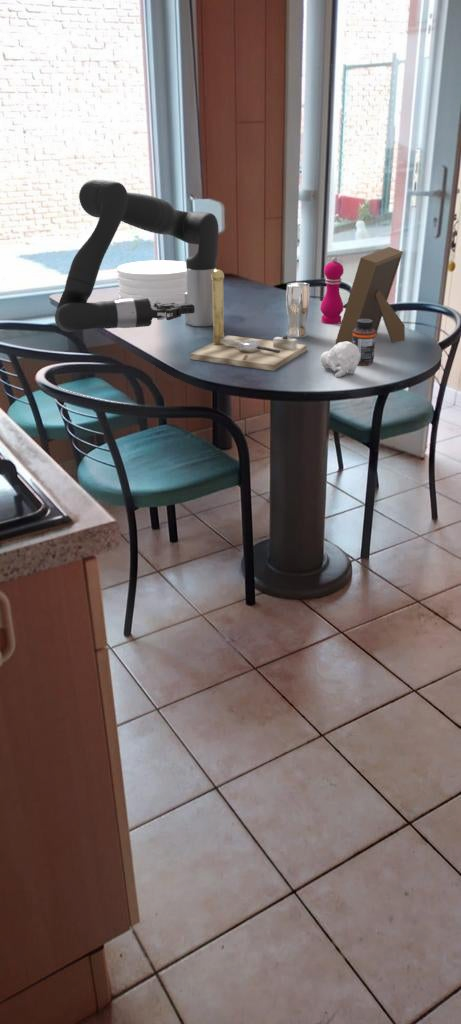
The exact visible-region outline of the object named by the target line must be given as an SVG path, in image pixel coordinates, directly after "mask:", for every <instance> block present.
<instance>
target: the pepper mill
mask: <svg viewBox="0 0 461 1024" xmlns="http://www.w3.org/2000/svg"><path fill="white" fill-rule="evenodd" d="M323 274H324V275H325V277H326V278H325V279H324V280H325V284H326V292H325V294H324V297H323V299H322V301H321V304H320V312H321V313H322V314H323V315H321V320H320V321H321V323H323V324H326V323H327V324H328V325H337V324H341V323H342V316H341V314H342V313H343V312H344V302H343V300H342V297H341V295H340V294H341V293H340V284H341V283H342V278H341V277H342V276H343V274H344V266H343V264H342V263H341V262H338V258H337V257H336V256H333V257H332V258H331V261H330V262H328V263H327V264H326V265H325V266H324V269H323Z"/></svg>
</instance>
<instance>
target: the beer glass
mask: <svg viewBox="0 0 461 1024" xmlns="http://www.w3.org/2000/svg"><path fill="white" fill-rule="evenodd" d="M310 292H311V291H310V283H308V282H298V281H297V282H296V281H295V282H290V283H287V284H286V292H285V293H286V294H285V307H286V315H287V322H288V323H287V325H288V326H287V330H286V336H287V337H288V338H292V339H301V338H306V337H307V336H308V333H307V320H308V319H307V318H308V314H309V309H310V300H311V293H310Z"/></svg>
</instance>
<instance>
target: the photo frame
mask: <svg viewBox="0 0 461 1024" xmlns="http://www.w3.org/2000/svg"><path fill="white" fill-rule="evenodd" d="M403 254H404V251H402V250H398V249H396V248H393V247H390V246H388V247H385V248H382V249H380V250H377V251H374V252H372V253H370V254H369V253H368V254H366V255H364V256H361V257H360V259H359V263H358V266H357V270H356V273H355V276H354V279H353V282H352V285H351V290H350V293H349V296H348V299H347V303H346V306H345V311H344V313H343V318H341V322H340V327H339V330H338V333H337V336H336V340H335V345H337V344H338V343H339V342H345V341H348V342H351V343H352V336H353V330H354V328H356V327H357V320H359V319H371V320H372V321H373V325H372V328H374V329H375V331H376V334H377V333H378V331H379V328H380V324H381V320H383V322H384V325H385V327H386V331H387V333H388V336H389V339H390V342H391V343H398V342H403V341H406V340H405V339H406V337H405V335H406V334H405V331H406V330H405V324H404V323H403V321H402V320H401V318H400V317H399V316H398V314H397V312H396V311H395V310H394V309H393V307H392V306H391V304H390V303H389V302H388V299H389V296H390V293H391V291H392V287H393V285H394V281H395V278H396V275H397V272H398V268H399V265H400V263H401V259H402V256H403Z"/></svg>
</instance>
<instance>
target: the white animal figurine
mask: <svg viewBox="0 0 461 1024" xmlns="http://www.w3.org/2000/svg"><path fill="white" fill-rule="evenodd" d="M360 356H361V354H360V352H359V349H358V347H357V346H356V345H355V344H353V343H351V342H348V341H345V342H339V343H338V344H335V345H333V347H331V349H330V350H326V351H324V352H323V353H321V355H320V359H319V360H320V365H321V366H322V367H323V369H330V368H331V370H332V371H334V372H335V371H337V367H341V370H338V371H337V372H336V373H334V377H336V378H340V377H343V376H344V375H346V374H347V372H348V374H349V375H353V374H355V371H356V370H357V366H359V365H358V363H359V359H360Z"/></svg>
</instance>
